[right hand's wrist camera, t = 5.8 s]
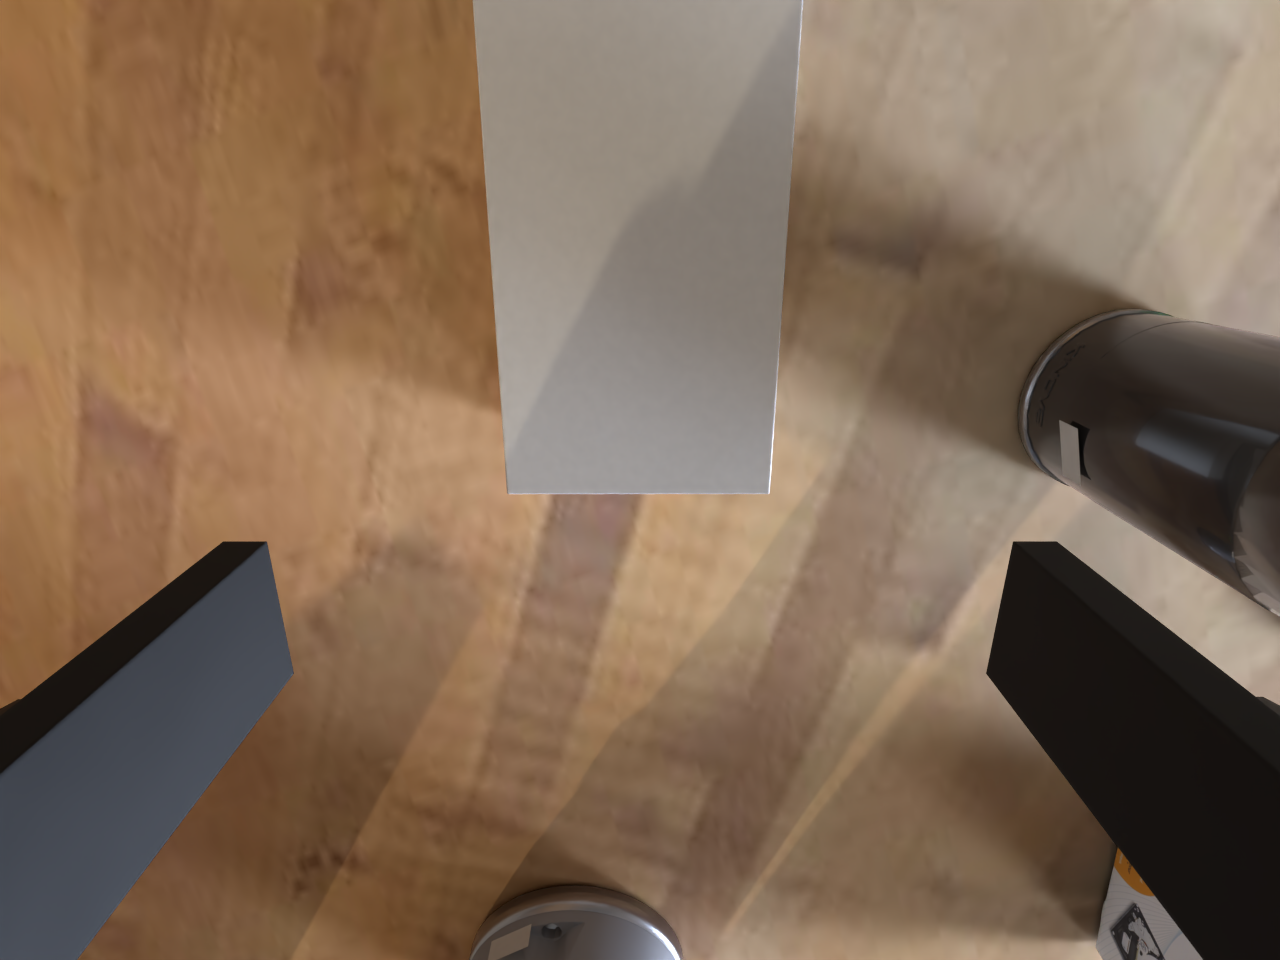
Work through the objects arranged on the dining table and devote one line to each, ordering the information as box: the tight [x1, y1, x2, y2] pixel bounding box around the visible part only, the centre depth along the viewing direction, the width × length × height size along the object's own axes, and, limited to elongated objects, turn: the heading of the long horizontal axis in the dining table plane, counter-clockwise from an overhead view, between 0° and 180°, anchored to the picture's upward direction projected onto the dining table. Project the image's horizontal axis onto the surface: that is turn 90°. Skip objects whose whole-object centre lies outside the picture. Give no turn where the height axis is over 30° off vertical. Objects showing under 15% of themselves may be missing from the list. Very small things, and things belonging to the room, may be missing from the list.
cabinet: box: [473, 0, 803, 494], centre depth 29 cm, size 18×10×10 cm, turn 0°
